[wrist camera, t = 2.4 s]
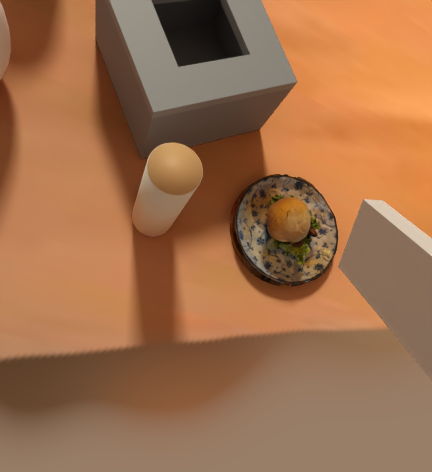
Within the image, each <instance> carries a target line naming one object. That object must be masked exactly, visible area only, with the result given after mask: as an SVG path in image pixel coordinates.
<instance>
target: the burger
mask: <svg viewBox="0 0 432 472" xmlns="http://www.w3.org/2000/svg"><path fill="white" fill-rule="evenodd" d="M231 217H232V219H231V223H230V235H231V239H232V243H233V246H234V248H235V251H236V253H237V255H238V257H239V258H240V260H241V261H242V263H243V264H244V265H245V266H246V267H247V268H248V270H249V271H250V272H251V273H253V274H254V275H255V276H257V277H258V278H260V279H261V280H263V281H265V282H268V283H270V284H273V285H275V284H276V285H277V284H278V285H279V286H280V283H281V285H282V283H284V284H291V285H292V286H296V285H301V284H303V283H306V282H309V281H312V280H315V279H317V278H318V277H319V276H321V275H322V274H323V273H325V271H326V270H327V269H328V268H329V266H330V264H331V262H332V260H333V257H334V255H335V253H336V250H337V244H338V230H337V224H336V219H335V216H334V214H333V212H332V210H331V209H330V207H329V206H328V204H327V202H326V201H325V199H324V197H323V196H322V194H321V193H319V192H318V191H317V189H316V188H315V187H314V186H313V185H312V184H311V183H310V182H308V181H306V180H305V179H302V178H300V177H297V178H296V177H290V176H288V175H286V174H285V175H279V174H274V175H270V176H267V177H264V178H262V179H260V180H258V181H257V182H255V183H253V184H251V185H250V186H248V187H247V188H246V189H245V190H244V191H243V192H242V194H241V195H240V196H239V198H238V199H237V201H236V202H235V205H234V207H233V209H232V213H231ZM284 284H283V285H284ZM292 286H291V287H292Z"/></svg>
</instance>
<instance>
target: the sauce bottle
mask: <svg viewBox="0 0 432 472" xmlns="http://www.w3.org/2000/svg"><path fill="white" fill-rule="evenodd" d="M10 53H11V41H10V31H9V26H8V23H7V19H6V16H5V12H4V9H3V7H2V4H1V2H0V80H1V78H2V77H3V75H4V74H5V72H6V69H7V67H8V64H9V60H10Z"/></svg>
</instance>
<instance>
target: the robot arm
mask: <svg viewBox="0 0 432 472" xmlns="http://www.w3.org/2000/svg"><path fill="white" fill-rule="evenodd" d="M338 267H339V268H340V269H341V270H342V272H343V273H344V274H345V275H346V277H347V278H348V279H349V280H350V281H351V283H352V284H353V285H354V286H355V287H356V289H357V290H358V291H359V292H360V294H361V295H362V296H363V297H364V298H365V300H366V301H367V302H368V303H369V304H370V306H371V307H372V308H373V309H374V311H375V312H376V313H377V314H378V315H379V317H380V318H381V319H382V320H383V321H384V323H385V324H386V325H387V326H388V327H389V329H390V330H391V331H392V332H393V333H394V335H395V336H396V337H397V338H398V340H399V341H400V342H401V343H402V344H403V346H404V347H405V348H406V349H407V350H408V352H409V353H410V354H411V355H412V357H413V358H414V359H415V360H416V361H417V363H418V364H419V365H420V366H421V368H422V369H423V370H424V371H425V372H426V373H427V375H428V376H429V377H430V378H431V380H432V238H430V237H429V236H428V235H426V234H425V233H424V232H423V231H421V230H420V229H419V228H417V227H416V226H415V225H413V224H412V223H411V222H410V221H408V220H407V219H406V218H404V217H403V216H402V215H401V214H399V213H398V212H397V211H395V210H394V209H393V208H392V207H390V206H389V205H388V204H386V203H385V202H384V201H383V200H367V199H363V201H362V204H361V207H360V210H359V212H358V215H357V218H356V220H355V223H354V226H353V228H352V231H351V234H350V236H349V239H348V242H347V244H346V247H345V250H344V252H343V255H342V258H341V260H340V263H339V266H338Z"/></svg>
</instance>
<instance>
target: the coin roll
mask: <svg viewBox="0 0 432 472" xmlns="http://www.w3.org/2000/svg"><path fill="white" fill-rule="evenodd" d="M202 176H203V167H202V163H201V161H200V159H199V157H198V156H197V154H196V153H195V152H194V151H193V150H192V149H190V148H189V147H187V146H185V145H183V144H180V143H165V144H162V145H160V146H158V147H156V148H155V149H154V150H153V151H152V152H151V154H150V155H149V157H148V160H147V164H146V167H145V170H144V174H143V177H142V180H141V184H140V187H139V190H138V194H137V197H136V201H135V204H134V207H133V211H132V222H133V224H134V226H135V228H136V229H137V230H138V231H139V232H140V233H142V234H144V235H146V236H150V237H156V236H160V235H163V234H164V233H166V232H167V231H168V230H169V228H170V227H171V226H172V224H173V223H174V221H175V220H176V218H177V217H178V215H179V214H180V212H181V211H182V209H183V208H184V206H185V205H186V203H187V202H188V201H189V199H190V198H191V196H192V195H193V193H194V192H195V190H196V189H197V187H198V186H199V184H200V182H201V180H202Z"/></svg>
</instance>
